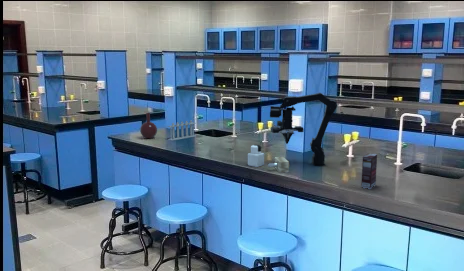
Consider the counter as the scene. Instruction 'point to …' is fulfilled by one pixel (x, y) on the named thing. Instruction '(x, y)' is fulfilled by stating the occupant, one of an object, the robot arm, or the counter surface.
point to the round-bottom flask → (148, 128)
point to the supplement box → (369, 170)
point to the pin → (273, 164)
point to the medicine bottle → (255, 156)
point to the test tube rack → (181, 130)
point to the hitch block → (282, 165)
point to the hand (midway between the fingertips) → (286, 143)
